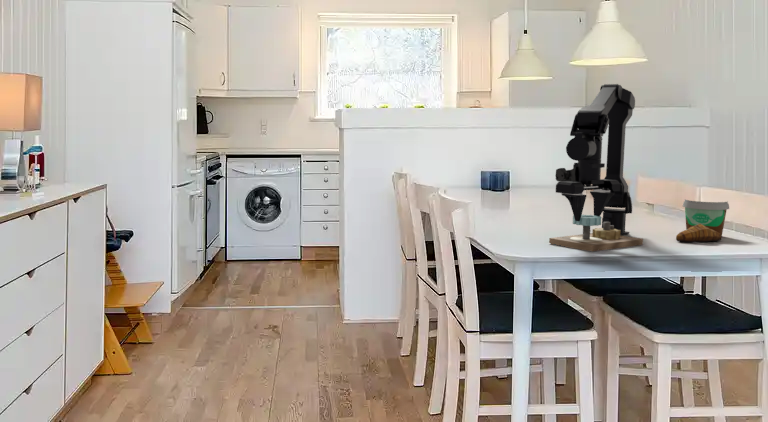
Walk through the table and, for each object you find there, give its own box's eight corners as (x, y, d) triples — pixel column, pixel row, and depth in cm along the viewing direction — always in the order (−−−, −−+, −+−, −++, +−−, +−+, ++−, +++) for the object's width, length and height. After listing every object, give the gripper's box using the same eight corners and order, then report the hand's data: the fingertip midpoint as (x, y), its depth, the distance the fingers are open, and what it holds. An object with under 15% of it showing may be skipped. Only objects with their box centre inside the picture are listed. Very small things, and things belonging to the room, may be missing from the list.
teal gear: (584, 221, 203) (585, 214, 203) (606, 224, 197) (607, 216, 197) (566, 223, 199) (567, 215, 199) (588, 226, 193) (588, 218, 193)
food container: (680, 236, 217) (682, 201, 216) (680, 233, 223) (682, 199, 221) (728, 239, 212) (730, 203, 211) (727, 236, 218) (729, 201, 217)
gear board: (599, 237, 212) (600, 217, 212) (642, 244, 201) (643, 223, 201) (549, 243, 201) (550, 222, 200) (592, 251, 190) (593, 229, 189)
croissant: (684, 244, 203) (685, 225, 202) (669, 240, 209) (670, 222, 209) (729, 243, 206) (730, 224, 206) (712, 239, 213) (713, 221, 212)
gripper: (588, 157, 208) (586, 214, 210) (540, 158, 197) (538, 219, 199) (622, 159, 199) (620, 219, 201) (574, 160, 188) (572, 224, 190)
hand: (587, 220), depth 198 cm, fingers closed on teal gear, 7 cm apart
